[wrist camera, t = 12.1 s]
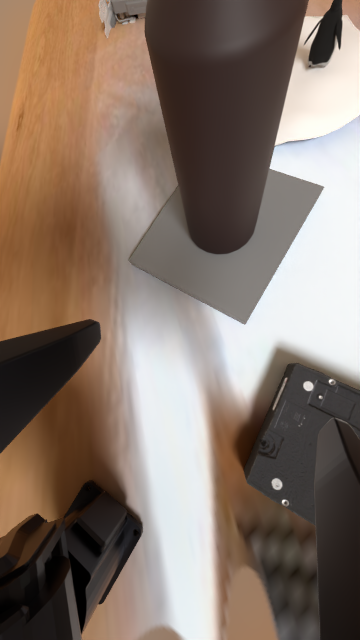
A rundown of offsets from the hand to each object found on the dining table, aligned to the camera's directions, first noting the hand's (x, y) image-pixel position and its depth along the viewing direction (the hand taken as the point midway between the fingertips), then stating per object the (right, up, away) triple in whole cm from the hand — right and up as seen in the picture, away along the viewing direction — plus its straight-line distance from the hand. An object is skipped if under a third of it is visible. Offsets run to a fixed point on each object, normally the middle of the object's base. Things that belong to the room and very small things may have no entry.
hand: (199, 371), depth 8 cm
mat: (+4, +12, +16) cm, 20 cm away
